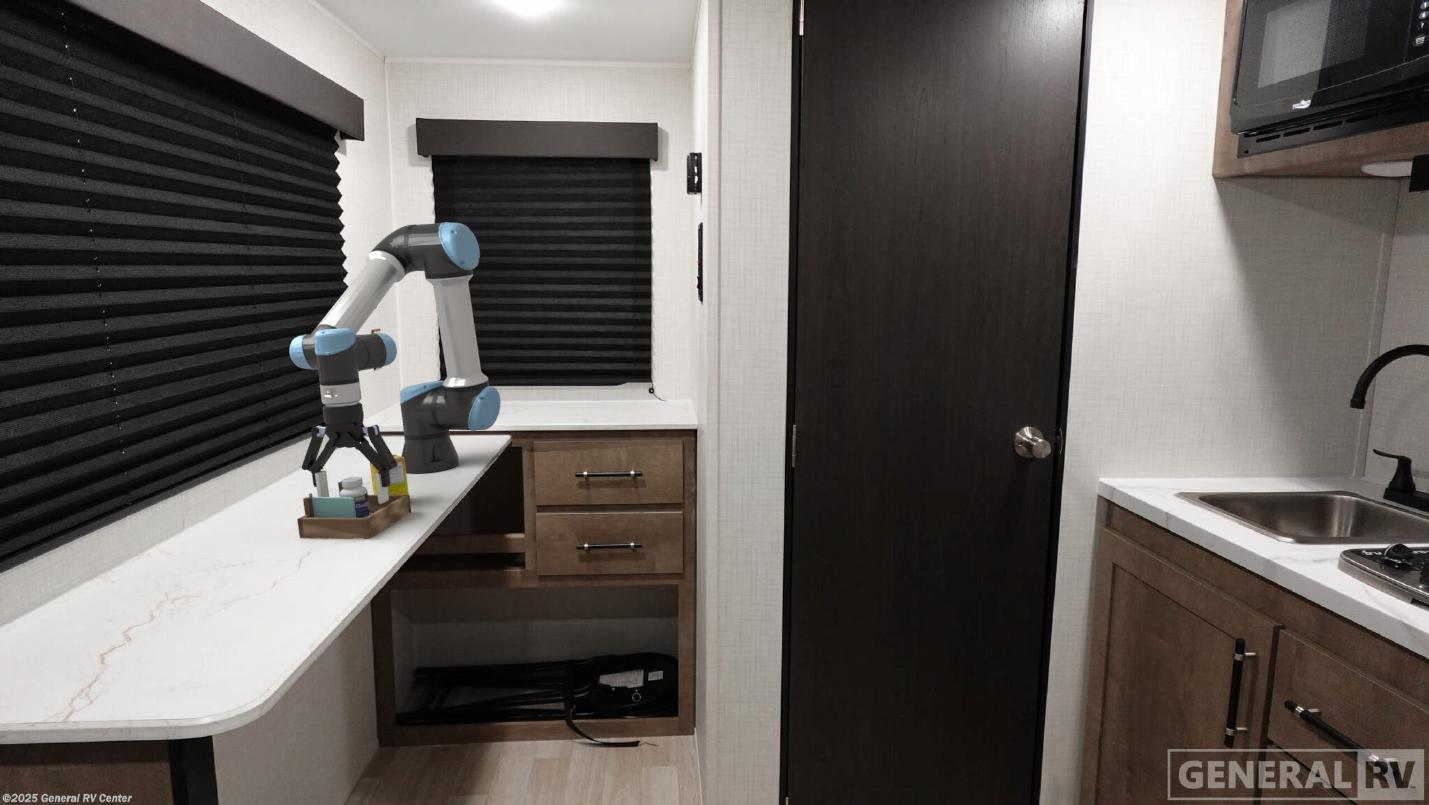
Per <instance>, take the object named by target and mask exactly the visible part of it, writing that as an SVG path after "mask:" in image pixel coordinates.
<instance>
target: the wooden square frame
mask: <svg viewBox="0 0 1429 805" xmlns="http://www.w3.org/2000/svg"><path fill="white" fill-rule="evenodd" d="M337 483H338V486H337V487H338V494H339V496H340V491H341V490H343V489H344V487H342V480H341V481H339V482H337ZM308 496H309V497H308ZM308 496H306V497H303V498H302V501H303V503H302V504H303V509H304V515H303V516H301V517H298V518H297V519H296V520H297V527H298V535H299V539H353V538H364V539H365V540H367V539H368V540H369V539H370V538H372V537H374V536H375V535H377V534H379V533H380V532H382V531H384V530H385V529H387V528H388V527H390V526H392V525H393V524H395V523H397V522H398V521H400V520H402V519H403V518H405V517H407V516H408V515H410V514H411V513H412V504H411V496H410V494H409V495H388V496H389V500H388V501H386V502H384V503H382V504H379V502H378V495H374V494H368V502H369V511H370V515H369V516H367V517H365V518H314V510H313V502H312V497H313V493H311V492H310V493H308Z"/></svg>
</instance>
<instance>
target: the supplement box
mask: <svg viewBox="0 0 1429 805" xmlns="http://www.w3.org/2000/svg"><path fill="white" fill-rule="evenodd" d="M392 455H393V457H394V458H395V460H396V462H397V464H398V466H397V467H395V468H393V469H391V470H390V471H389V474H390V486H388V495H410V494H409V486H408V479H407V478H408V477H407V472H406V467H405V459H404V457H401V455H399V454H398V455H397V454H392ZM369 467H370V476H371V482H372V483H371V484H372V491H373V495H378V493H377V484H376V475H375V474H376V473H378V472H379V471H378V470H377V469H376V468H375V467H374V466H373V465H372V464H371V463H370V462H369Z"/></svg>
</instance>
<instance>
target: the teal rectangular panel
mask: <svg viewBox="0 0 1429 805" xmlns="http://www.w3.org/2000/svg"><path fill="white" fill-rule="evenodd" d="M312 502H313V510H314V518H356V511H355V503H354V498H349V497H340V496H337V497H336V496H329V497H318V496H312Z"/></svg>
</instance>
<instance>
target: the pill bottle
mask: <svg viewBox="0 0 1429 805" xmlns="http://www.w3.org/2000/svg"><path fill="white" fill-rule="evenodd" d="M341 481H342V487H344V489H343V490H341V491H340V495H339V497H349V498H354V503H355V511H356V518H365V517H367V516H369V515H371V513H370V511H369V502H368V495H369V494H368V492H369V491H368V488H367V487H365V486H363V485H364V484H363V483H364V482H363V477H362V476H350V477H346V478H343V479H341Z"/></svg>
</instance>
